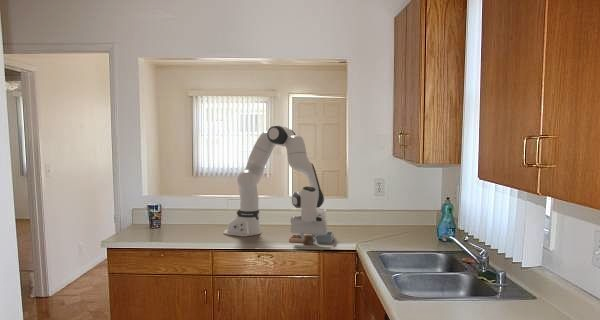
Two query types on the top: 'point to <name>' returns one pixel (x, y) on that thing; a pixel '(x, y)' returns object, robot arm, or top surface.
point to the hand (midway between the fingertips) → (309, 241)
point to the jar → (321, 212)
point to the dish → (294, 239)
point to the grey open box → (325, 238)
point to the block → (308, 239)
